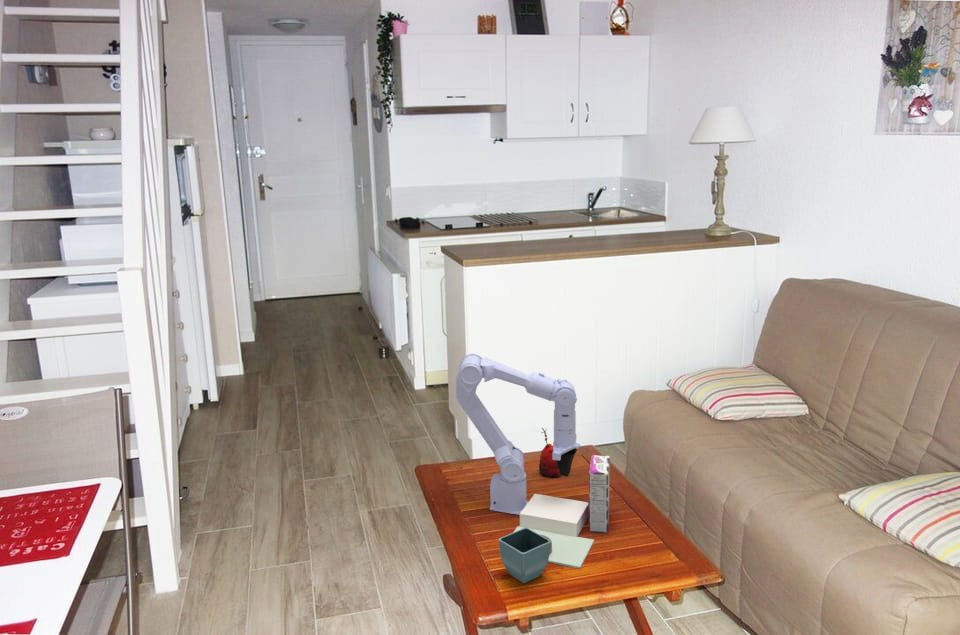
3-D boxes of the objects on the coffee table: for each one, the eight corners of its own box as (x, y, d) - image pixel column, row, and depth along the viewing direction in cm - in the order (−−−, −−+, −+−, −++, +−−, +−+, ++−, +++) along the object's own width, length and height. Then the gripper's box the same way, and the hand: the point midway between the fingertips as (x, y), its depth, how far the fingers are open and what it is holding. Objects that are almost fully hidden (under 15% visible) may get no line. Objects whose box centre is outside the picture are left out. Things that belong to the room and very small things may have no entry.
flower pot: (526, 560, 176) (526, 526, 174) (552, 576, 169) (552, 540, 167) (498, 574, 170) (497, 538, 168) (523, 591, 164) (523, 554, 162)
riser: (519, 527, 191) (519, 513, 190) (534, 507, 202) (534, 493, 201) (576, 538, 185) (576, 523, 184) (588, 516, 196) (589, 502, 195)
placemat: (499, 552, 179) (499, 550, 179) (518, 527, 191) (518, 525, 191) (580, 568, 172) (580, 566, 172) (594, 541, 183) (594, 539, 183)
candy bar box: (590, 511, 199) (591, 454, 195) (609, 512, 198) (610, 455, 194) (588, 532, 188) (588, 472, 184) (608, 533, 187) (609, 473, 183)
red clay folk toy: (566, 477, 219) (566, 429, 216) (543, 480, 218) (543, 432, 214) (557, 467, 227) (557, 420, 223) (535, 469, 225) (535, 423, 222)
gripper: (570, 439, 188) (571, 488, 191) (587, 419, 201) (586, 466, 204) (544, 435, 191) (545, 484, 194) (562, 416, 204) (562, 462, 207)
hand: (564, 475), depth 199 cm, fingers closed
